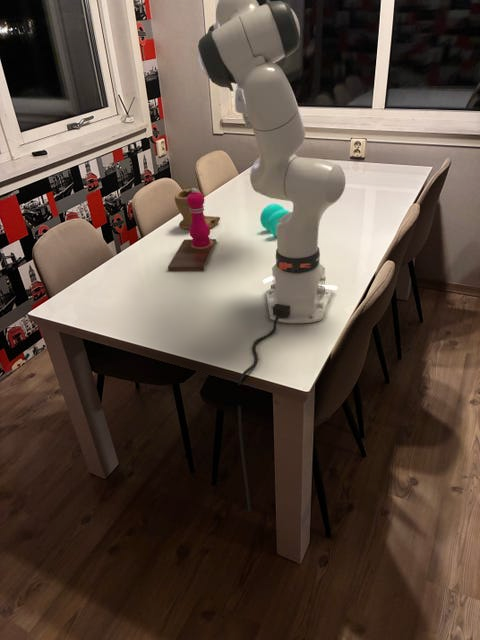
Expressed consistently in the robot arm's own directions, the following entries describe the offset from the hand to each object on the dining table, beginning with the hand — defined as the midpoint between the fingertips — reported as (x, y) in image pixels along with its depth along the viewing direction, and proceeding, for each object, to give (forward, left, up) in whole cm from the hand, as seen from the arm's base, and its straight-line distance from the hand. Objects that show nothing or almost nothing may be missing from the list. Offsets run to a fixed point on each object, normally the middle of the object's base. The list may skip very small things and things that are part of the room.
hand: (256, 130), depth 159 cm
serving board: (-16, +22, -37) cm, 46 cm away
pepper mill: (-10, +21, -36) cm, 42 cm away
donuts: (+3, -5, -37) cm, 38 cm away
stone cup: (+10, +27, -37) cm, 47 cm away
